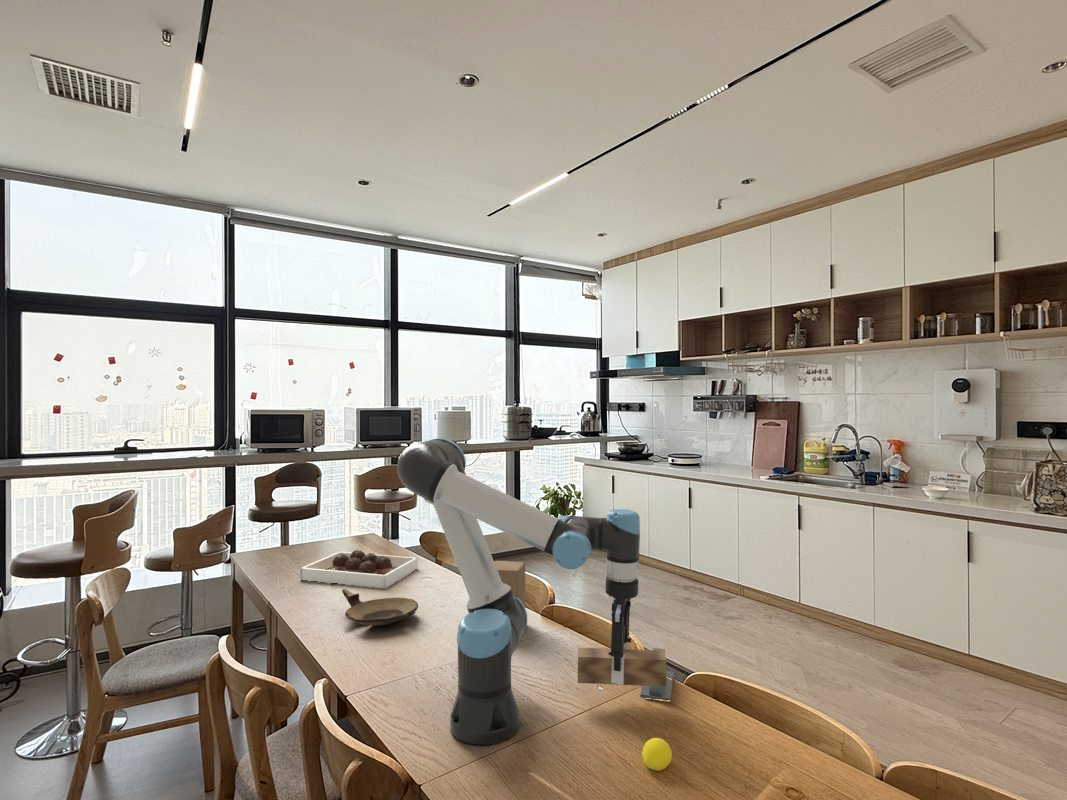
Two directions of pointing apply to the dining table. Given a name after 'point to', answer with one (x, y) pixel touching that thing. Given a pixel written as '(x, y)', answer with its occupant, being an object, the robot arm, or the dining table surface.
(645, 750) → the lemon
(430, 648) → the dining table surface
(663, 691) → the fulcrum
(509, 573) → the wooden block
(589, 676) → the walnut bar
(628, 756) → the dining table surface
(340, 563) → the chocolate truffle
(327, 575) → the truffle corral
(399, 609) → the olive brown pan
